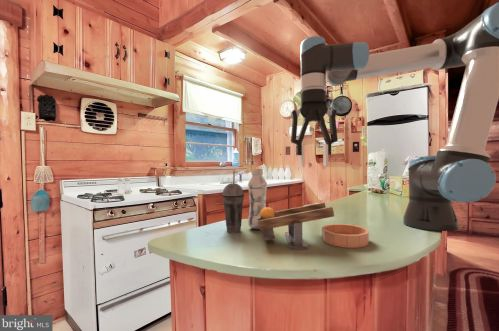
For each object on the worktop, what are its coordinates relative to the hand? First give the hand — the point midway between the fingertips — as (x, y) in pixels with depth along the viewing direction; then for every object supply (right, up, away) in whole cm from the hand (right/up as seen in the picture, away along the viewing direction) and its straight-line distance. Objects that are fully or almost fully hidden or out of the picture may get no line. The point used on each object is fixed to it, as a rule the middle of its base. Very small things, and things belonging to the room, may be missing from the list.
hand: (314, 165), depth 78 cm
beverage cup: (-25, -21, +5) cm, 33 cm away
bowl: (+7, -21, -7) cm, 23 cm away
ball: (-15, -14, -7) cm, 21 cm away
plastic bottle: (-17, -21, +7) cm, 28 cm away
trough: (-7, -18, -4) cm, 20 cm away
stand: (-7, -21, -7) cm, 23 cm away
